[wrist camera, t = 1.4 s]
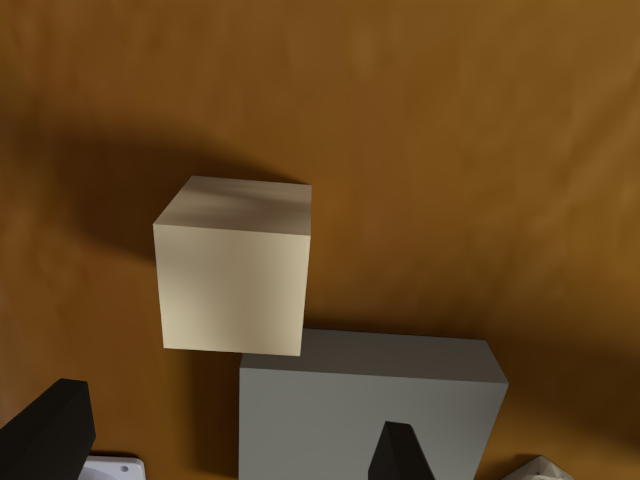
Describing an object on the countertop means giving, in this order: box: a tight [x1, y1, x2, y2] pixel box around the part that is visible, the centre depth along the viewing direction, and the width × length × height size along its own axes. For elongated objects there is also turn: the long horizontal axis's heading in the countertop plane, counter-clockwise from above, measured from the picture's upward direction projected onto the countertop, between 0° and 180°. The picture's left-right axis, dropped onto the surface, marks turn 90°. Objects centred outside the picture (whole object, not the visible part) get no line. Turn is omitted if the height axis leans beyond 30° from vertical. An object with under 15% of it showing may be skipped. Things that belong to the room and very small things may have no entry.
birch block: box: [153, 176, 311, 356], centre depth 17 cm, size 5×5×5 cm
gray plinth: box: [239, 328, 509, 480], centre depth 23 cm, size 12×12×3 cm
